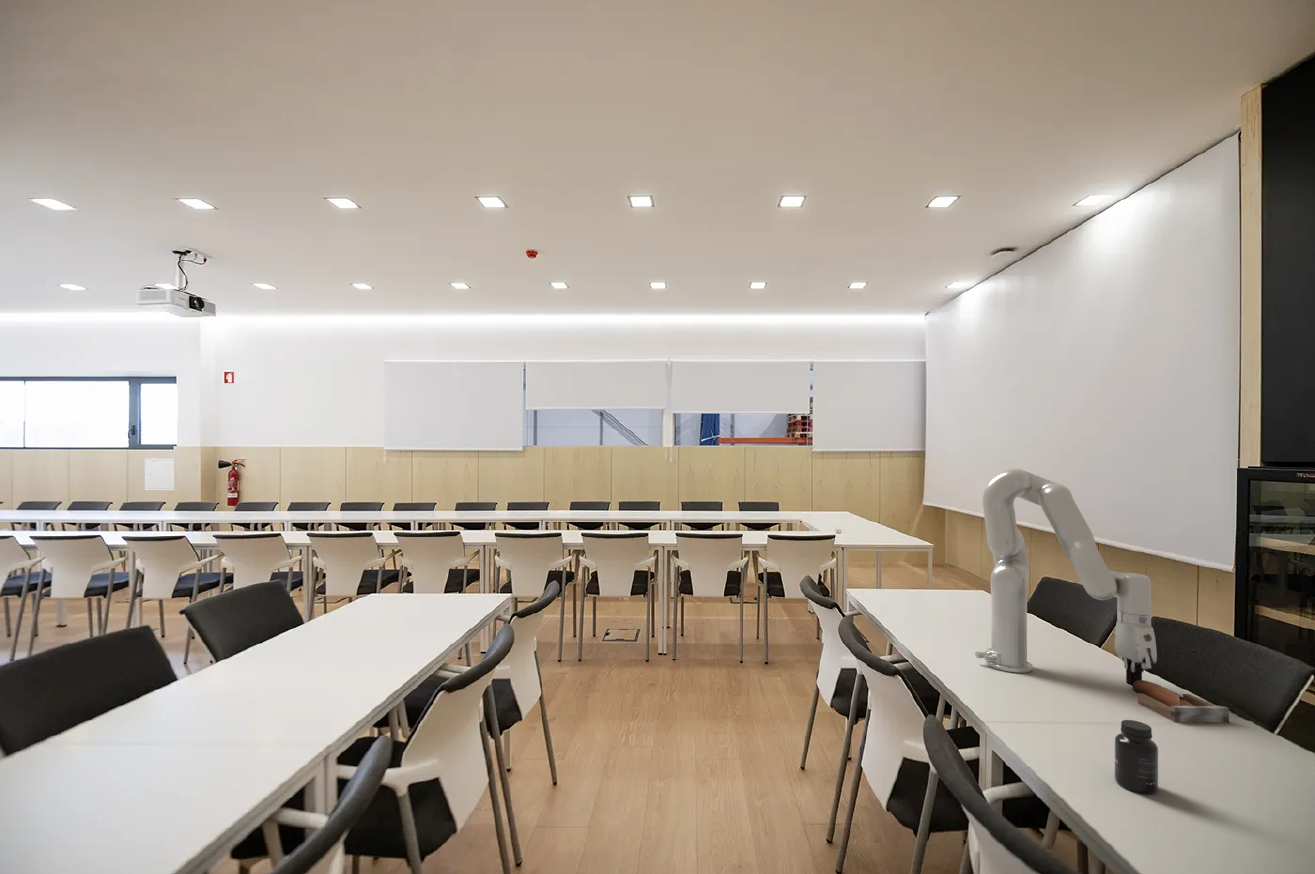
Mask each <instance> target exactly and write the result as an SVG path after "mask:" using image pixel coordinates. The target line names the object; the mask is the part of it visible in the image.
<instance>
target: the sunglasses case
mask: <svg viewBox="0 0 1315 874" xmlns="http://www.w3.org/2000/svg"><path fill="white" fill-rule="evenodd" d="M1131 687H1132V691H1134V692H1137V694H1138V693H1143V694H1145V695H1147V696H1149V697H1152V698H1154V699H1156V700H1158V701H1160V702H1162V703H1164V704H1166V705H1168V706H1170V707H1171V706H1194V705H1192V704H1191V703H1189V702H1187V701H1186V700H1184V697H1183V695H1180V694H1179V693H1177V692H1175V691H1173V690H1170V689H1169V688H1166V687H1164V686H1162V685H1160V684H1158V683H1154V682H1151V681H1148V680H1143V679H1142V680H1137V681H1135V682H1134V683H1133V685H1132V686H1131Z"/></svg>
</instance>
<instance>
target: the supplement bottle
mask: <svg viewBox="0 0 1315 874" xmlns="http://www.w3.org/2000/svg"><path fill="white" fill-rule="evenodd" d="M1152 730H1153V729H1152V727H1151V726H1150V725H1148V724H1147V723H1144V722H1142V721H1137V720H1133V719H1124V720H1121V722H1120V732H1121V733H1119V734H1116V736H1115V738H1114V780H1115V782H1116V783H1117V785H1119V786H1120V787H1121V788H1123V789H1126V790H1127V791H1130V792H1133V793H1136V794H1141V795H1155V794H1156V793H1157V792H1158V791H1159V747H1158V745H1157V744H1156V743H1155V741H1153V740H1152V739H1153V734H1152V732H1153V731H1152Z"/></svg>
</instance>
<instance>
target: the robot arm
mask: <svg viewBox="0 0 1315 874" xmlns="http://www.w3.org/2000/svg"><path fill="white" fill-rule="evenodd" d="M982 495H983V496H982V507H983V514H984V515H983V516H984V525H985V533H986V541H987V542H986V543H987V547H988V548H989V550H990V551H991V553H992V557H993V563H994V567H993V569H992V571H991V575H990V579H989V580H990V595H991V596H990V597H991V598H990V599H991V601H990V602H991V605H990V607H991V611H990V612H991V644H990V645H991V647H988V648H987V650H985V651H975V653H974V654H975V658H976V659H983V660H985V663H986V665H988V666H989V667H991V668H994V669H996V670H1000V671H1005V672H1008V673H1009V672H1010V673H1022V674H1024V673H1030V672H1032V671H1033V670H1034V665H1033V664H1032V663H1031V662H1029V661H1028V598H1027V597H1028V590H1027V588H1028V587H1027V586H1028V583H1029V582H1028V581H1029V579H1030V567H1029V561H1028V557H1027V555H1028V554H1027V549H1026V543H1025V538H1024V535H1023V533H1022V531H1021V530H1020V529H1019V528H1018V524H1017V518H1016V512H1015V504H1014V503H1015V500H1016V499H1017V498H1019V499H1022V500H1025V501H1027V502H1029V503H1032V504H1034V505H1037V506H1040V507H1041V508H1042V511H1043V513H1044V515H1045V516H1046V518H1047V521H1048V523H1049V524H1050V526H1051V527H1052V529H1053V532H1054V534H1055V535H1056V537H1057V539H1058V542H1059V543H1060V545H1061V547H1062V550H1063V551H1064V553H1065V554H1066V556H1067V558H1068V560H1069V561H1070V564H1071V565H1072V568H1073V570H1074V571H1075V573H1076V575H1077V577H1078V579H1079V581H1080V582H1081V585H1082V586H1083V588H1084V589H1085V592H1086V593H1087V594H1088V595H1089V596H1090V597H1091V598H1093V599H1096V600H1098V601H1107V600H1111V599H1113V598H1114V597H1115V596H1116V597H1117V598H1116V599H1117V600H1116V601H1117V603H1116V606H1117V607H1116V611H1117V612H1116V615H1117V616H1116V617H1117V618H1116V619H1117V620H1116V624H1115V630H1114V631H1115V632H1114V651H1115V652H1116V654H1117V657H1118V658H1120V659H1121V660H1122V662H1123V665H1124V669H1125V674H1126V675H1125V680H1126V681H1125V683H1126V685H1129V686H1131V687H1132V685H1133V683H1134V682H1135V681H1137V680H1143V673H1144V671H1145V670H1151V669H1152V665H1151V664H1156V663H1157V661H1158V660H1157V659H1158V658H1157V657H1158V655H1157V653H1158V652H1157V642H1156V635H1155V632H1154V628H1153V627H1152V582H1151V579H1150V577H1149V576H1148V575H1145V574H1140V573H1136V572H1119V571H1114V570H1111V569H1110V570H1109V568H1108V567H1107V565H1106V563H1105V562H1104V559H1103V557H1102V555H1101V553H1100V551H1099V549H1098V547H1097V544H1096V541H1095V537H1094V534H1093V532H1092V530H1091V528H1090V526H1089V525H1088V523H1087V522H1086V520H1085V518H1084V516H1083V514H1082V512H1081V510H1080V509H1079V506H1078V505H1077V503H1076V501H1075V499H1074V497H1073V495H1072V492H1071V490H1070V489H1069V488H1068V487H1067V486H1065V485H1064V484H1061V483H1058V482H1054V481H1052V480H1050V479H1047V478H1044V477H1041V476H1039V475H1036V474H1034V473H1031V472H1028V471H1026V470H1023V469H1018V468H1011V469H1007V470H1005V471H1002V472H1000V473H999V474H998V475H996V476H994V477H993V478H992V479H991V480H990V481H989V482H988V483H987V485H986V486H985V488H984V490H983V494H982Z"/></svg>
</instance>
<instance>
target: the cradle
mask: <svg viewBox="0 0 1315 874" xmlns="http://www.w3.org/2000/svg"><path fill="white" fill-rule="evenodd" d="M1182 697H1184V700H1186V701H1187V702H1189V703H1191V704H1192V705H1194V706H1171V707H1170V706H1168V705H1166V704H1164V703H1162V702H1160V701H1158V700H1156V699H1154V698H1152V697H1149V696H1147V695H1145V694H1143V693H1138V692H1137V703H1138V704H1139V705H1141V706H1143V707H1145V708H1147V709H1149V710H1151V711H1152V712H1154V713H1156V714H1159V715H1160V716H1162V717H1164V718H1166V719H1168V720H1170V721H1172V722H1174V723H1204V722H1229V723H1230V708H1229V707H1227V706H1223V705H1218V706H1217V705H1215V704H1212V703H1209V702H1207V701H1205V700H1202V699H1201V698H1199V697H1196V696H1194V695H1192V694H1189V693H1182Z"/></svg>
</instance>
